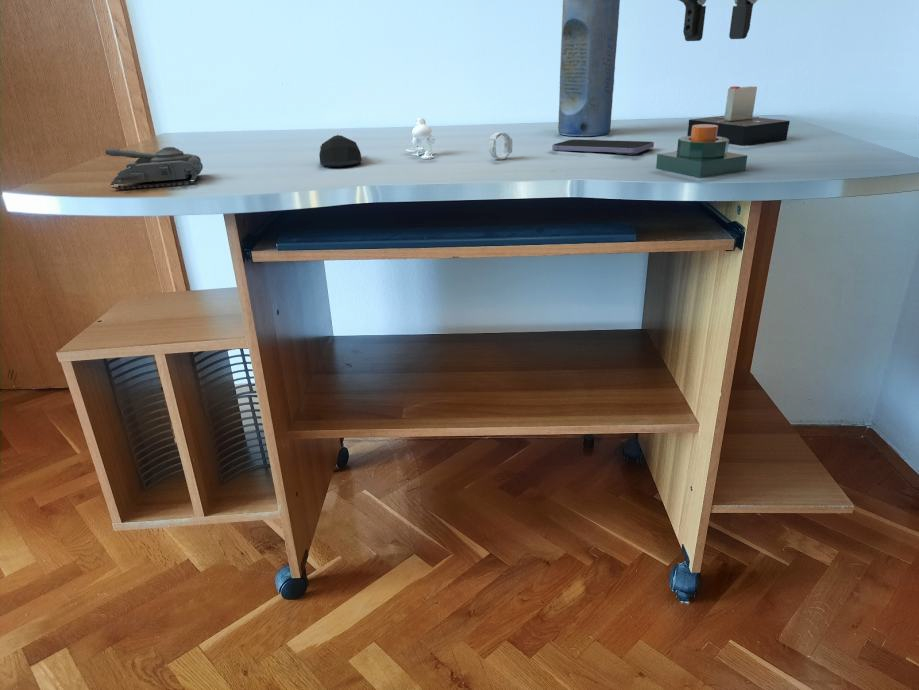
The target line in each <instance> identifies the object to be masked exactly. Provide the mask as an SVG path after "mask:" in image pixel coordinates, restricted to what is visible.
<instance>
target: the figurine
mask: <svg viewBox="0 0 919 690" xmlns="http://www.w3.org/2000/svg"><path fill="white" fill-rule="evenodd" d="M415 122H416V123H415V124H416V125H415V126H414V127H413V129H412V131H411V135H412V139H411V141H412V144H413V146H416V147H409V148H406V152H407V153H411V156H417V157H419V156H421V159H424V160H430V159H433V158H434V155H436V154H437V152H433V150H432V145H434V144H435V143H436V139H435V136H434V135H432V133H433V130H432V128H431V127H430V126H429V125H427V124H426V119H425V118H423V117H418V118H417V119H416V121H415ZM423 141H425V143H426V144H427V145H428V146H429V150H426V151H424V147H419V146H420V145H421V144H422V143H423ZM419 152H420V153H419ZM423 152H424V154H423Z"/></svg>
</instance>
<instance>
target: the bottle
mask: <svg viewBox="0 0 919 690" xmlns="http://www.w3.org/2000/svg"><path fill="white" fill-rule="evenodd" d="M620 4H621V0H562V16H561V18H562V19H561V38H560V39H561V40H560V62H559V63H560V65H559V66H560V67H559V95H558V96H559V100H558V101H559V102H558V103H559V104H558V125H557V131H558V134H560V135H563V136H567V137H595V136H597V137H598V136H604V135H608V134H609V133H610V132H611V127H612V126H611V125H612V110H613V100H614V99H613V97H614V85H615V71H616V59H617V58H616V57H617V45H618V32H619V20H620V19H619V18H620V6H621V5H620Z"/></svg>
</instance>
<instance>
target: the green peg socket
mask: <svg viewBox="0 0 919 690" xmlns="http://www.w3.org/2000/svg"><path fill="white" fill-rule="evenodd" d="M677 139H678V140H677V148H676V151H668V152H662V153H657V154H656V164H655V169H656V170H660V171H666V172H670V173H674V174H679V175H683V176H687V177H692V178H697V179H703V178H709V177H715V176H721V175H727V174H734V173H739V172H745V171H746V169H747V168H746V167H747V163H748V162H747V161H748V155H747V154H740V153H735V152H729V150H728V149H729V145H730V144H729V139H727V138H725V137H718V136H717V139H716V141H693V140H691V136H687V135H686V136H681V137H679V138H677Z"/></svg>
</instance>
